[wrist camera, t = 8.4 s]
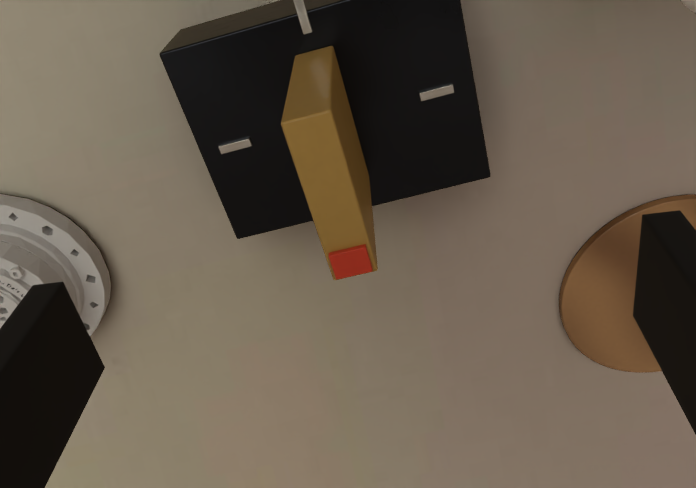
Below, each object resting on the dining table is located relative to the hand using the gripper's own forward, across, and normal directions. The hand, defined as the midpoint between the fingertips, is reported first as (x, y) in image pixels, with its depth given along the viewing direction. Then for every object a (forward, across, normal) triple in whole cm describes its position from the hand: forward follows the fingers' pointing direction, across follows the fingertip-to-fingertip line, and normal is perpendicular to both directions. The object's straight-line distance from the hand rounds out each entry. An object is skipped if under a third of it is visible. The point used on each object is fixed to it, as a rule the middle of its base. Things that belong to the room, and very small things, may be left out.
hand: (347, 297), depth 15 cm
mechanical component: (+17, -20, -8) cm, 28 cm away
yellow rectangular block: (+14, -1, -1) cm, 14 cm away
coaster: (+18, +15, -16) cm, 29 cm away
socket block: (+18, -2, -1) cm, 18 cm away
